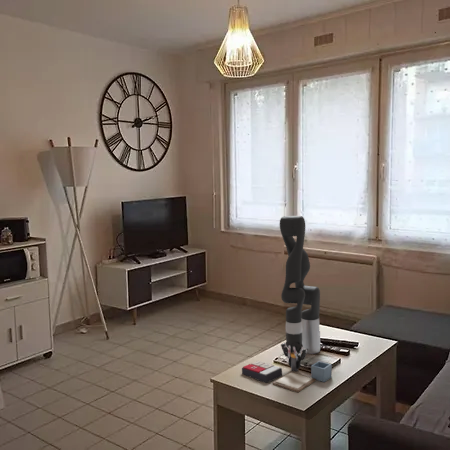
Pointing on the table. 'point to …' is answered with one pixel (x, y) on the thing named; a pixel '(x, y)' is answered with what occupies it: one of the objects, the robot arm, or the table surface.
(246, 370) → the dark grey box
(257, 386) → the table surface
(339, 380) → the table surface
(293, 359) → the marker
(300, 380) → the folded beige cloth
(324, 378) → the pen cup
